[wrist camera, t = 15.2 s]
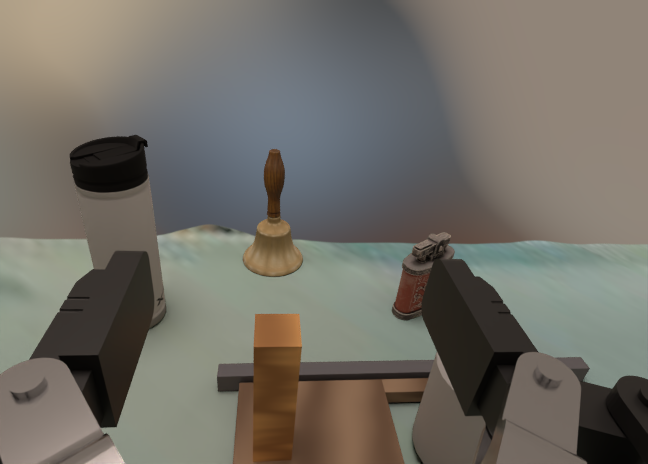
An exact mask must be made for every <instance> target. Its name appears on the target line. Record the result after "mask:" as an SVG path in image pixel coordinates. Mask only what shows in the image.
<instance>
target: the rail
mask: <svg viewBox="0 0 648 464" xmlns="http://www.w3.org/2000/svg"><path fill="white" fill-rule="evenodd" d="M556 359H558V360H559V361H561V362H562V363H564V364H565V365H566V366H567V367H569V368H570V369H571V370H572V371H573V373H574V374H575V375H576V376H577V378H578V380H579V381H582V380H583V379H584V377H585V375H586V374H587V372H588V370H589V369H590V368H589V367H588V366H587V364H586V363H585V362H584V361H583V359H582V358H581V357H568V358H556ZM433 362H434V360H405V361H351V362H300V371H299V381H334V380H375V379H415V378H429V375H430V372H431V369H432V366H433ZM253 380H254V363H243V364H219V367H218V374H217V383H218V391H238V390H239V383H253Z"/></svg>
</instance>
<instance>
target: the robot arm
mask: <svg viewBox="0 0 648 464" xmlns="http://www.w3.org/2000/svg"><path fill="white" fill-rule="evenodd" d="M421 308H422V316H423V320H424V322H425V325H426V327H427V329H428V332H429V334H430V336H431V338H432V341H433V343H434V345H435V348H436V350H437V352H438V355H439V357H440V359H441V362H442V364H443V366H444V368H445V371H446V373H447V375H448V378H449V380H450V382H451V385H452V387H453V389H454V392H455V394H456V396H457V399H458V401H459V403H460V405H461V408H462V410H463V412H464V415H465V416H482V417H483V419H484V421H485V423H486V424H485V426H484V428H483V430H482V432H481V436H480V439H479V442H478V446H477V449H476V452H475V456H474V459H473V462H472V464H648V379H645V378H642V377H637V376H624V377H622V378H620V379H619V380H618V382H617V383H616V384H615V386H614V387H613V389H610V388H606V387H602V386H598V385H594V384H590V383H586V382H582V381H579V380H578V378H577V376H576V375H575V374H574V373H573V371H572V370H571V369H570V368H569V367H567V366H566V365H565V364H564V363H562V362H561V361H559V360H558V359H556V358H554V357H552V356H549V355H546V354H543V353H539V352H538V351H537V349H536V348H535V346H534V345H533V344H532V342H531V341H530V339H529V338H528V336H527V335H526V333H525V332H524V331H523V329H522V328H521V326H520V325H519V323H518V322H517V320H516V319H515V318H514V316H513V315H511V314H510V310H509V309H508V307H507V306H506V305H505V304H503V300H502V299H501V297H500V296H499V295H498V293H497V292H496V290H495V289H494V288H493V287H492V286H491V285H489V284H488V283H487V282H486V281H484V280H483V279H482V278H481V277H475V276H474V275H473V273H472V272H471V270H470V269H469V267H468V266H467V264H466V263H465V261H463V260H462V259H436V260H435V261H434V262H433V265H432V268H431V271H430V275H429V278H428V281H427V285H426V288H425V291H424V295H423V298H422V307H421ZM153 313H154V290H153V283H152V276H151V268H150V261H149V256H148V253H147V252H146V251H115V252H114V253H113V255H112V257H111V259H110V261H109V263H108V264H107V266H106V268H105V269H93V270H91V271H90V272H89V273H87V274H86V275H85V276H83V277H82V278H81V279H80V280H78V281H77V282H76V283H75V285H74V287H73V288H72V290H71V292H70V293H69V295H68V296H67V300H65V301H64V303H63V305H62V306H61V308H60V312H58V313H57V315H56V316H55V318H54V319H53V321H52V323H51V324H50V326H49V328H48V329H47V331H46V333H45V334H44V336H43V338H42V339H41V341H40V343H39V344H38V346H37V347H36V349H35V351H34V352H33V354H32V356H31V357H30V359H29V360H27V361H24V362H22V363H19V364H17V365H15V366H13V367H11V368H9V369H7V370H6V371H4V372H3V373H2V374H0V464H125V463H124V461H123V459H122V458H121V456H120V454H119V452H118V450H117V448H116V447H115V445H114V443H113V441H112V440H111V438H110V436H109V435H108V434H107V433H106V434H104V433H103V432H102V430H101V428H104V427H117V424H118V421H119V418H120V415H121V412H122V409H123V406H124V403H125V400H126V397H127V394H128V390H129V387H130V384H131V381H132V378H133V375H134V372H135V369H136V366H137V363H138V360H139V357H140V354H141V351H142V348H143V345H144V342H145V339H146V336H147V333H148V330H149V327H150V324H151V321H152V318H153Z"/></svg>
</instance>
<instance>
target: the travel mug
mask: <svg viewBox="0 0 648 464" xmlns="http://www.w3.org/2000/svg"><path fill="white" fill-rule="evenodd" d="M144 146H145V147H148V145H147V141H146V140H145V139H143V138H141V137H139V136H138V135H133V136H129V137H107V138H102V139H97V140H93V141H90V142H87V143H85V144H82V145H80V146H78V147H77V148H75V149H74V150H73V151H72V152H71V153H70V164H71V169H72V173H73V178H74V185H75V189H76V194H77V198H78V202H79V206H80V211H81V215H82V219H83V224H84V228H85V232H86V237H87V241H88V245H89V249H90V254H91V258H92V262H93V267H94V269H105V268H106V266H107V264H108V263H109V261H110V259H111V257H112V255H113V253H114V252H115V251H146V252H147V253H148V256H149V261H150V268H151V276H152V283H153V290H154V313H153V318H152V321H151V324H150V327H149V328H151V327H153V326H154V325H156V324H157V323H158V322H160V320H161V319H162V318H163V317H164V315H165V312H166V303H165V296H164V288H163V280H162V273H161V265H160V258H159V250H158V242H157V235H156V228H155V220H154V213H153V205H152V197H151V189H150V183H149V175H148V172H147V168H146V166H147V164H146V157H145V151H144Z"/></svg>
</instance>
